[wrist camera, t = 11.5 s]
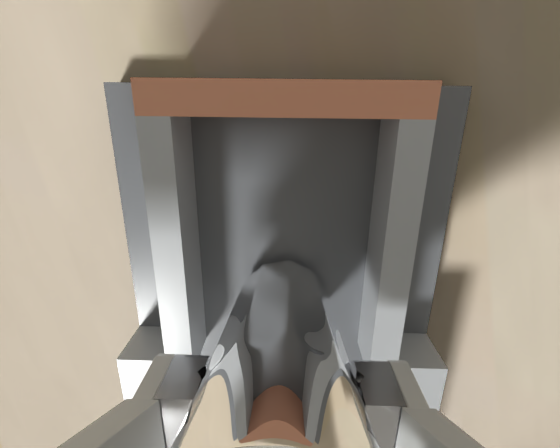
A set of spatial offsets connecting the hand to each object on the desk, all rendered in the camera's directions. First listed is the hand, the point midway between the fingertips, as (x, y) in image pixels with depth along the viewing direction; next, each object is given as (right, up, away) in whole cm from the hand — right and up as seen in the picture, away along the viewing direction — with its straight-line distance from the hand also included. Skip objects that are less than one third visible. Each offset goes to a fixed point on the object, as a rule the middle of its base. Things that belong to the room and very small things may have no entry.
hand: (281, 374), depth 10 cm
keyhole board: (0, +1, +5) cm, 5 cm away
